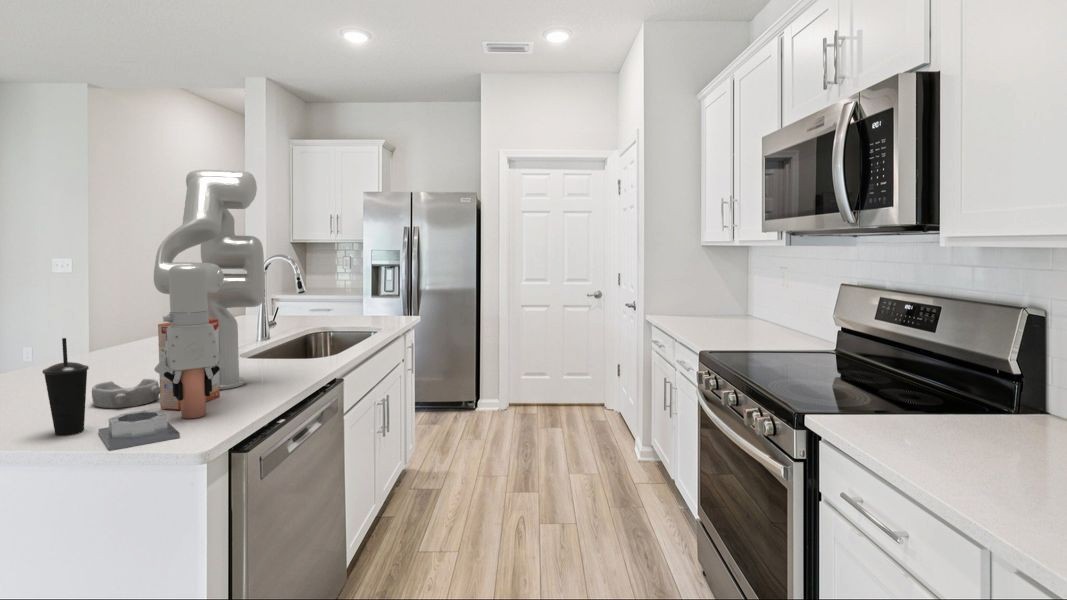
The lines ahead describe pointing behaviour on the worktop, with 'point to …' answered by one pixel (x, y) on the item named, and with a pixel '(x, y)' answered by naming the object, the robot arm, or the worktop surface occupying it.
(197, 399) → the cylinder
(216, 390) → the cracker box
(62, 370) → the drinking cup
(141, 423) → the ring block
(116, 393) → the dish
